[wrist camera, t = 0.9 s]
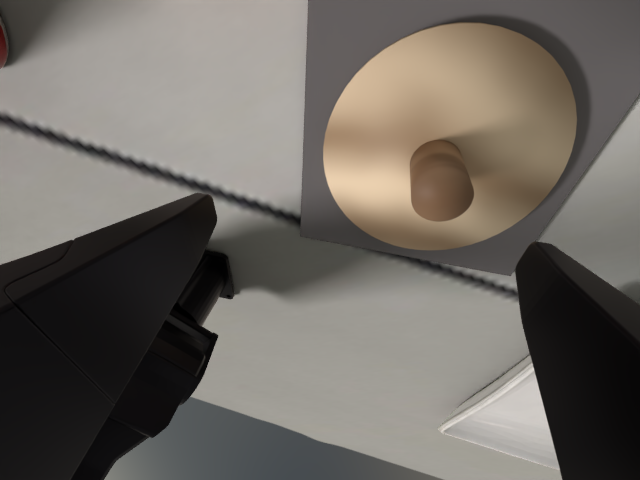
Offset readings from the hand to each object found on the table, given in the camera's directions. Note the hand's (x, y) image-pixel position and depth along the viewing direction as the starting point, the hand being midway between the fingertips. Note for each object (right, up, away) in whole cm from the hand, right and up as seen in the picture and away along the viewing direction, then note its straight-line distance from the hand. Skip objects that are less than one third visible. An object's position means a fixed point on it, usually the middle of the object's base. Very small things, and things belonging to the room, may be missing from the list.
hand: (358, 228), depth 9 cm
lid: (+6, +5, +10) cm, 13 cm away
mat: (+6, +5, +11) cm, 13 cm away
